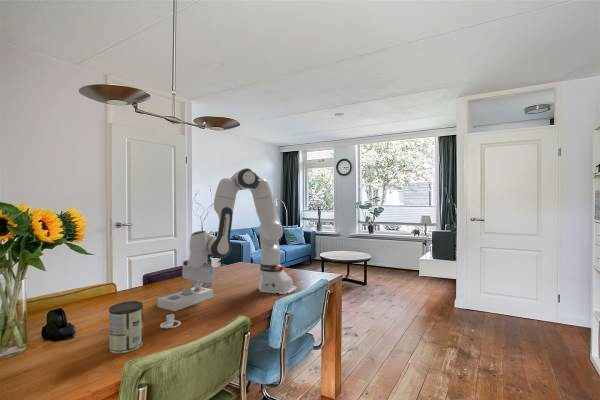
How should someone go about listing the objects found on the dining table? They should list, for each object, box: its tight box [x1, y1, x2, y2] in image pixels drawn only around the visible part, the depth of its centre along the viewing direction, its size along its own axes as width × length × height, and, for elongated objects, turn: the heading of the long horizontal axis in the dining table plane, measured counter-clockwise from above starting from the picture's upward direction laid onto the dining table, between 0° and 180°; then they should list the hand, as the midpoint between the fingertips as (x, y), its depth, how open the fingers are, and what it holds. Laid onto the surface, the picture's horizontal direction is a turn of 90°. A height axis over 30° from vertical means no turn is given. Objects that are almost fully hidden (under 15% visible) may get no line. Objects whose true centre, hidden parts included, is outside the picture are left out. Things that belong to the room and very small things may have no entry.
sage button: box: [181, 288, 191, 296], centre depth 155 cm, size 4×4×3 cm
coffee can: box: [108, 300, 144, 354], centre depth 108 cm, size 10×10×14 cm
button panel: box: [157, 286, 214, 312], centre depth 155 cm, size 24×12×4 cm, turn 150°
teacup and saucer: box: [159, 313, 182, 329], centre depth 126 cm, size 9×8×4 cm
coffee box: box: [192, 257, 213, 288], centre depth 182 cm, size 9×6×16 cm
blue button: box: [169, 296, 179, 300], centre depth 148 cm, size 4×4×3 cm
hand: (198, 289), depth 161 cm, fingers closed, pressing on terracotta button
